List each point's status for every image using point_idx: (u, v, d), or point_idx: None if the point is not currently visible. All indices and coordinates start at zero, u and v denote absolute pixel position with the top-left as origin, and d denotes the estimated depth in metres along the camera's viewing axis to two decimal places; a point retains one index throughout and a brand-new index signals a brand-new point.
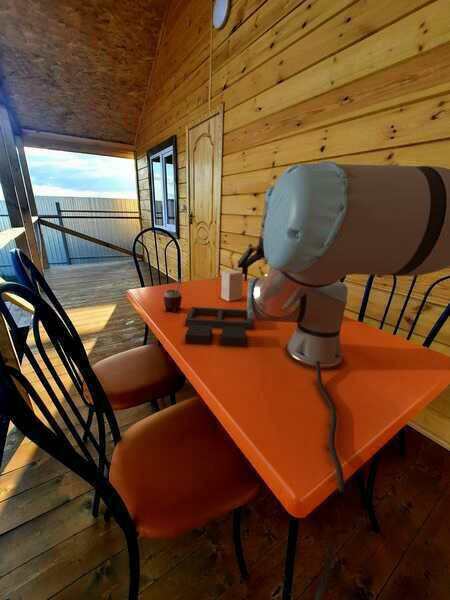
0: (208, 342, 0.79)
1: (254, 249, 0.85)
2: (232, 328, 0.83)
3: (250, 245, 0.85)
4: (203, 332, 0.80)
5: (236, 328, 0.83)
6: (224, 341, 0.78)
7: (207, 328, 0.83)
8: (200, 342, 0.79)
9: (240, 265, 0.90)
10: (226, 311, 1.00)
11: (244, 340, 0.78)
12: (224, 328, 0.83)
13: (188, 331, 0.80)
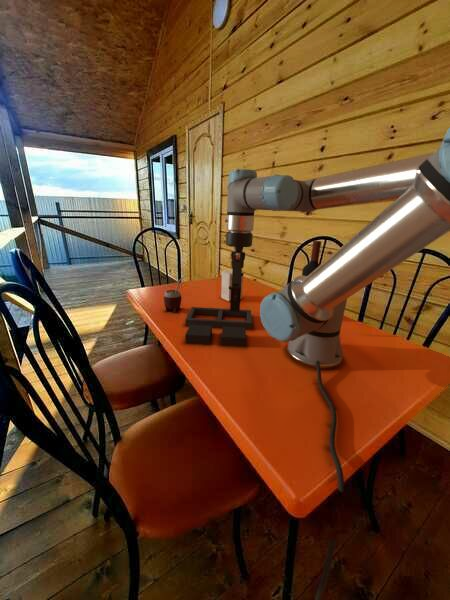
0: (208, 342, 0.79)
1: None
2: (232, 328, 0.83)
3: (235, 252, 0.67)
4: (203, 332, 0.80)
5: (236, 328, 0.83)
6: (224, 341, 0.78)
7: (207, 328, 0.83)
8: (200, 342, 0.79)
9: (240, 284, 0.67)
10: (226, 311, 1.00)
11: (244, 340, 0.78)
12: (224, 328, 0.83)
13: (188, 331, 0.80)
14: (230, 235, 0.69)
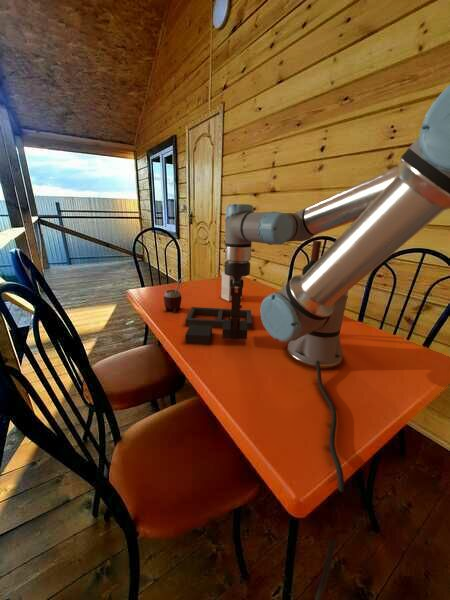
0: (208, 342, 0.79)
1: (238, 286, 0.71)
2: None
3: (234, 286, 0.69)
4: (203, 332, 0.80)
5: None
6: (225, 334, 0.77)
7: (207, 328, 0.83)
8: (200, 342, 0.79)
9: (239, 315, 0.72)
10: (226, 311, 1.00)
11: (246, 332, 0.76)
12: (225, 321, 0.82)
13: (188, 331, 0.80)
14: (228, 265, 0.71)
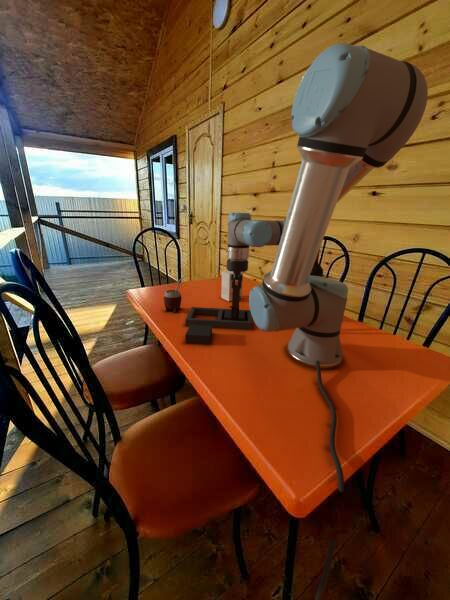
0: (208, 342, 0.79)
1: (238, 279, 0.86)
2: None
3: (234, 279, 0.84)
4: (203, 332, 0.80)
5: None
6: None
7: (207, 328, 0.83)
8: (200, 342, 0.79)
9: None
10: None
11: (243, 320, 0.92)
12: (226, 311, 0.97)
13: (188, 331, 0.80)
14: (230, 263, 0.86)
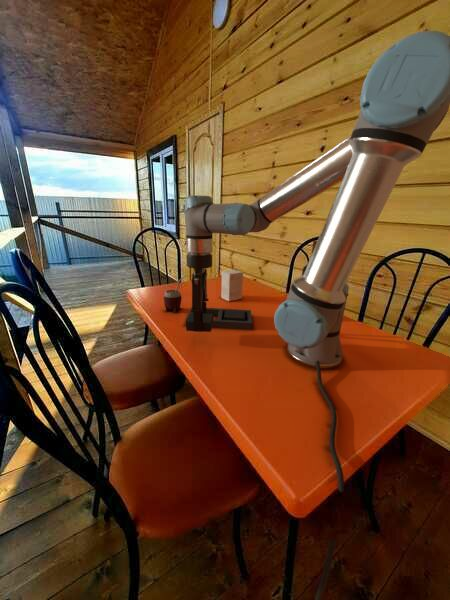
0: (209, 329, 0.77)
1: (198, 278, 0.71)
2: (233, 311, 0.98)
3: (193, 278, 0.69)
4: (204, 319, 0.79)
5: (237, 311, 0.97)
6: None
7: (208, 315, 0.81)
8: None
9: (200, 307, 0.72)
10: None
11: (243, 320, 0.92)
12: (226, 311, 0.97)
13: (189, 319, 0.79)
14: (189, 257, 0.71)
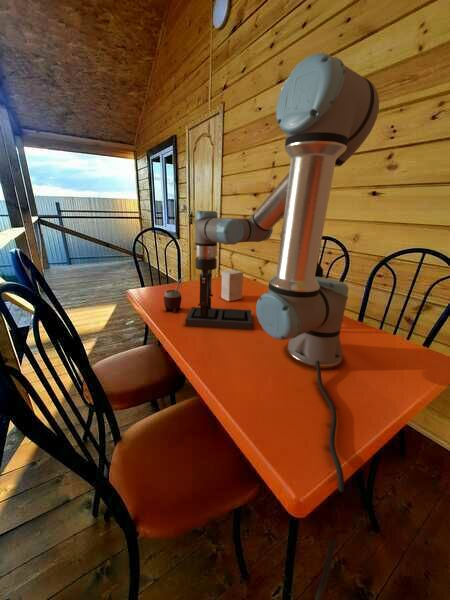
0: None
1: (205, 277, 0.86)
2: (233, 311, 0.98)
3: (201, 277, 0.85)
4: (208, 313, 0.94)
5: (237, 311, 0.97)
6: None
7: (212, 311, 0.97)
8: None
9: (206, 302, 0.87)
10: None
11: (243, 320, 0.92)
12: (226, 311, 0.97)
13: (195, 313, 0.94)
14: (198, 261, 0.87)
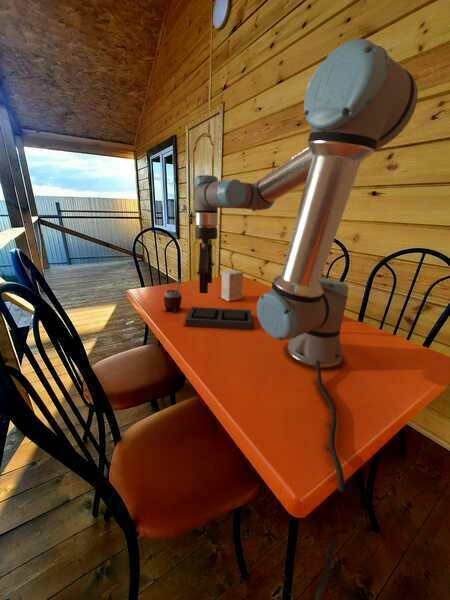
0: None
1: None
2: (233, 311, 0.98)
3: (201, 243, 0.81)
4: (208, 313, 0.94)
5: (237, 311, 0.97)
6: None
7: (212, 311, 0.97)
8: None
9: (206, 269, 0.81)
10: None
11: (243, 320, 0.92)
12: (226, 311, 0.97)
13: (195, 313, 0.94)
14: (197, 229, 0.83)
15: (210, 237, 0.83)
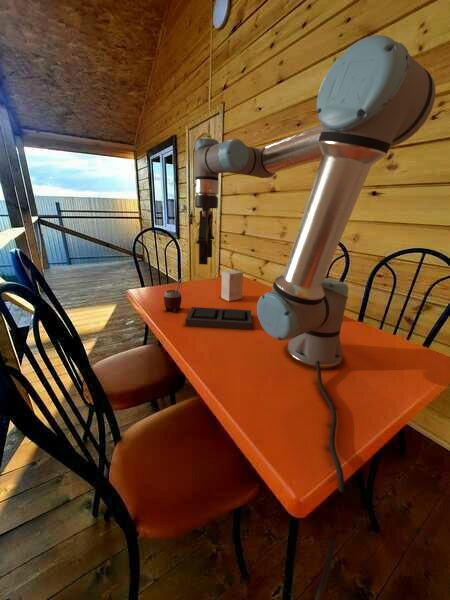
0: None
1: None
2: (233, 311, 0.98)
3: (201, 211, 0.78)
4: (208, 313, 0.94)
5: (237, 311, 0.97)
6: None
7: (212, 311, 0.97)
8: None
9: (206, 238, 0.78)
10: None
11: (243, 320, 0.92)
12: (226, 311, 0.97)
13: (195, 313, 0.94)
14: (197, 197, 0.80)
15: (210, 205, 0.80)
